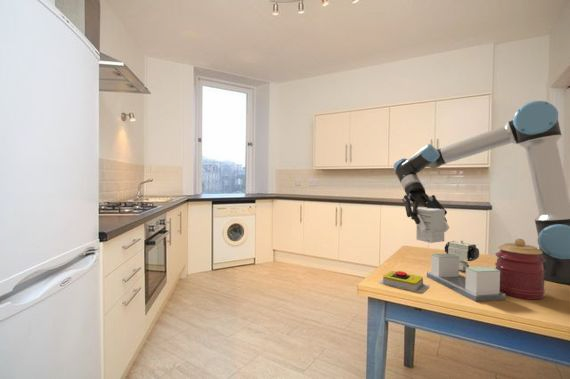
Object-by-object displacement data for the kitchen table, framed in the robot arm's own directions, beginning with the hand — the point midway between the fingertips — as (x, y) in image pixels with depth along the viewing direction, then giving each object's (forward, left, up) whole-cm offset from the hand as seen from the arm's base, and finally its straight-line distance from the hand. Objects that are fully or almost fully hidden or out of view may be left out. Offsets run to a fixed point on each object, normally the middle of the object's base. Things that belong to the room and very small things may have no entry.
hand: (435, 229), depth 116 cm
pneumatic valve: (-6, -15, -18) cm, 24 cm away
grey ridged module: (+2, -2, -5) cm, 6 cm away
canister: (-26, +1, -18) cm, 31 cm away
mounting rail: (-11, +8, -18) cm, 22 cm away
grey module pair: (-11, +8, -16) cm, 21 cm away
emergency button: (+5, +18, -18) cm, 26 cm away
